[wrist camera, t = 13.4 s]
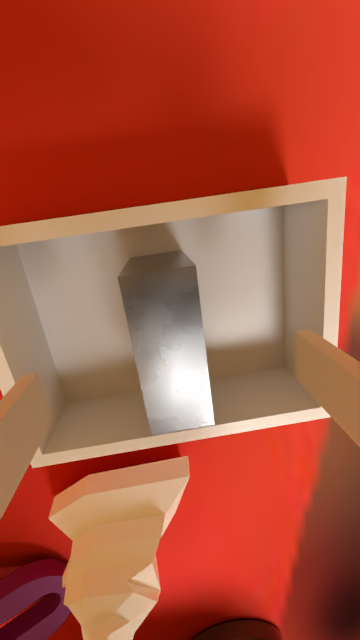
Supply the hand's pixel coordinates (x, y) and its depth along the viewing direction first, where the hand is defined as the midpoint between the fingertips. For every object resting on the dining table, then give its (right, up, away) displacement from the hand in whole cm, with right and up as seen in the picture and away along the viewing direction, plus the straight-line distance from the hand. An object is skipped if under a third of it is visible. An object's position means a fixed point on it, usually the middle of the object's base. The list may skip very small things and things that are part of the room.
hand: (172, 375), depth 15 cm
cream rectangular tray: (-1, +4, +10) cm, 11 cm away
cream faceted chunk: (-5, -15, +16) cm, 23 cm away
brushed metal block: (-1, +3, +9) cm, 10 cm away
